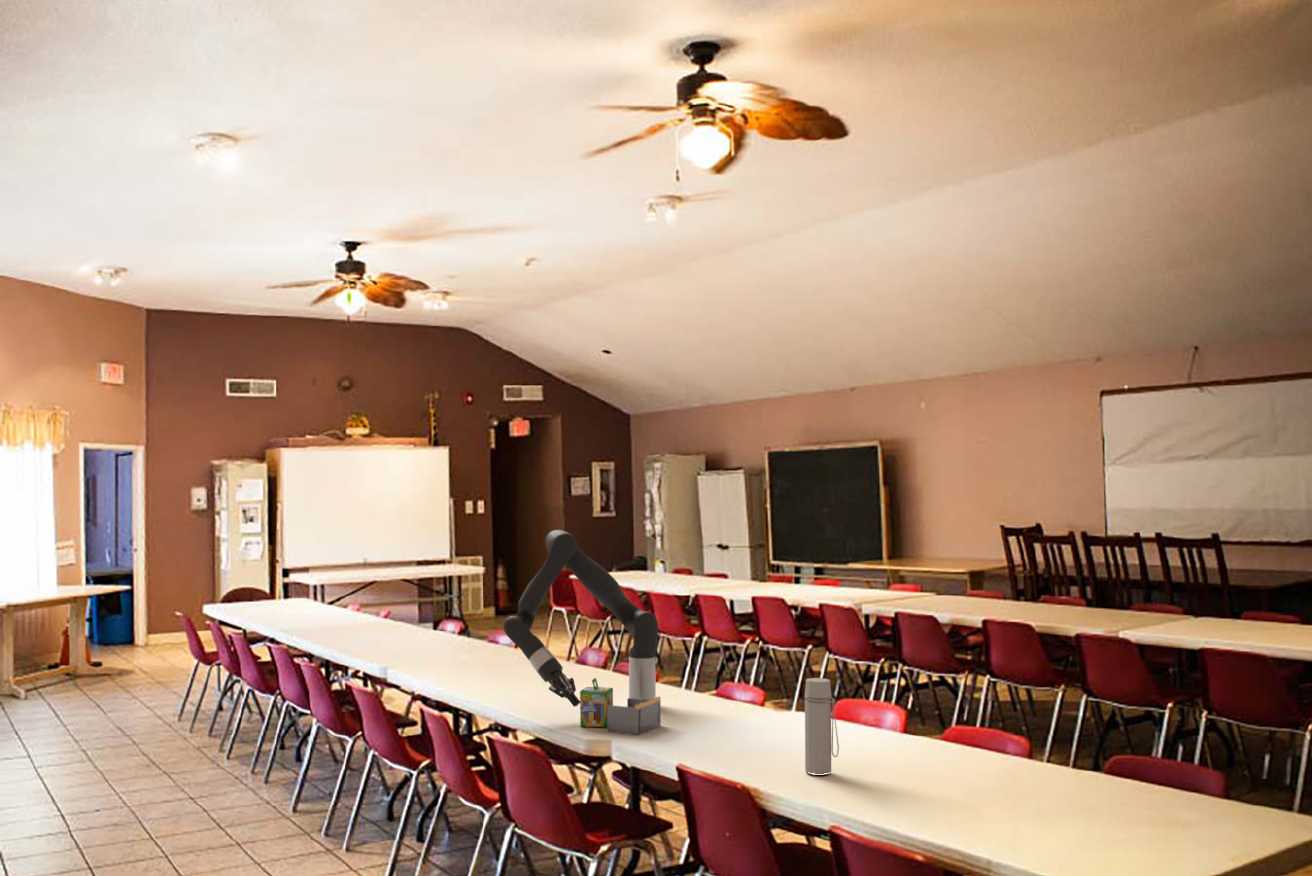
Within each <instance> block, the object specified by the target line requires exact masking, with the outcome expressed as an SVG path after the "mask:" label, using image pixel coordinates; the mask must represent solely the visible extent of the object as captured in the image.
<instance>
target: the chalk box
mask: <svg viewBox="0 0 1312 876" xmlns="http://www.w3.org/2000/svg"><path fill="white" fill-rule="evenodd" d="M591 682H592V683H591V684H592V686H593V687H592V686H586V687H584V688H583V689H581V690H580V691H579V701H580V703H579V704H580V706H579V708H580V711H579V712H580V715H579V716H580V719H579V720H580V723H579V724H580V726H585V727H584V728H606V727H607V706H609V705H613V706H614V688H613V687H602V686H599V684H598V682H597V678H596V677H594V678H593V679H592V680H591Z"/></svg>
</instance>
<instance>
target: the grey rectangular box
mask: <svg viewBox="0 0 1312 876" xmlns="http://www.w3.org/2000/svg"><path fill="white" fill-rule="evenodd" d="M626 700H627V706H621V705H614V704H613V705H609V706H607V728H606V729H607V731H610V733H616V732H620V733H619V734H625V733H629V734H628V735H634V734H636V735H635V736H639V735H638V734H640V735H642V734H644V733H646V731H647V732H649V731H651V730H653V728H654V729H656V728H658V727H660V726H661V705H662V704H661V701H662V700H661V696H656V697H655V698H653V699H650V700H645V699H635V698H629V697H628V698H627V699H626ZM657 726H658V727H657ZM655 727H656V728H655ZM650 729H651V730H650ZM648 730H649V731H648ZM643 732H644V733H643ZM641 733H642V734H641Z"/></svg>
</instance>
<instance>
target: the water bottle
mask: <svg viewBox="0 0 1312 876" xmlns="http://www.w3.org/2000/svg"><path fill="white" fill-rule="evenodd" d="M831 688H832V687H831V680H830V679H828V678H824V677H823V678H822V677H813V678H812V677H811V678H807V679H805V689H804V691H805V692H804V747H805V748H804V754H805V755H804V772H806V771H807V772H810V773H815V774H824V773H829V772H831V773H832V757H834V758H838V756H839V750H840V749H839V748H840V747H839V746H840V744H839V738H838V730H837V728H838V727H837V721H836V712H835V701H836V699H835V698H833V697H832V689H831ZM832 710H833V714H832ZM834 726H835V727H834ZM834 728H835V735H836V744H837V751H836V755H835V754H834Z"/></svg>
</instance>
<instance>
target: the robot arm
mask: <svg viewBox="0 0 1312 876" xmlns="http://www.w3.org/2000/svg"><path fill="white" fill-rule="evenodd" d="M545 548H546V550H547V551H548V556H547V558H546V561H545V562H544V564H543V565H542V567H541V568H540V570H539V571H538V572H537V573H536V574H535V576H534V577H533V578H532V579H531V580H530V582H529V583H528V584H527V586H526V587H525V590H524V592H523V593H522V595H521V597H520V598H519V601H518V604H517V606H518V609H517V613H516V615H511V616H509V617H506V618H505V620H504V622H503V626H502V628H503V631H504V633H505V635H506V636H507V637H508V638H509V639H510V640H511V641H512V643H513V644H514V645H516V646H517V648H519V649H520V650H521V652H522V653H523V655H524V656H525V657H526V659H527V660H528V661H529V663H530V664H531V666H532V668H533V669H535V671H536V672H537V674H538V675H539V676H540V677H541V679H542V680H543V681H544V682H545V683H549V684H550V686H549V687H548V690H549V691H551V692H552V693H554V694H555V695H557V696H559V697H560V698H562V699H563V698H564V699H567V700H568V701H569V702H570V703H571V705H572V706H573V707H574V708H575V707H577V706H579V704H580V698H579V697H577V695H576V694H575V693H576V691H577V689H576V684H575V679H574V678H573V677H570V678H568V677H567V675H566V674H564V673H563V666H562V665H561V663H560V662H559V660H558V659H557V658H556V657H555V656H554V655H553V653H552V652H551V651H550V650H549V649H548V648H547V647H546V646H545V644H544V643H543V642H542V641H541V640H540V638H539V637H538V636H536V635H535V634H533V633H532V632H531V629H532V626H533V625H534V621H535V617H536V614H537V612H538V610H539V608H540V607H541V605H542V603H543V601H544V599H545V597H546V595H547V594H548V592H549V591H550V588H551V587H552V585H553V584H554V582H555V580H556V579H557V578H558V576H559V574H560V573H561V572H562V570H563V569H564V567H565V566H566V567H567V568H568V569H569V570H570V571H571V572H572V573H573V575H574V576H575V577H576V578H577V580H578V581H579V582H580V583H581V585H583V586H584V588H586V590H587V591H588V592H589V593H590V594H591V595H592V596H594V598H595V599H597V601H598V602H600V603H601V604H602V605H603V606H604V607H605V608H606V609H608V610H609V611H610V612H611V613H612V614H613V615H614V616H615V617H616V618H617V620H618V621H619V622H620V623H621V625H622V626H623V627H624V628H625V630H626V631H627V632H628V633H629V634H630V635H632V636H633V644H632V647H630V648H629V650H628V698H635V699H645V700H650V699H653V698H655V697H657V695H656V693H657V692H656V689H657V687H656V684H657V683H656V651H657V649H658V641H659V640H658V638H659V622H658V619H657V617H656V615H655V614H654V613H653V612H650V611H646V610H642V609H640V608H638V607H637V606H636V605H634V604H633V603H632V601H630V600H629V599H628V598H627V597H626V595H625V594H624V591H623V590H622V588H621V586H620V584H619V582H618V581H617V580H616V579H615V578H614V577H613V576H612V574H610V573H609V572H608V571H607V570H606V569H605V568H604V567H603V566H601V565H600V564H599V563H597V562H596V561H595V560H593V559H592V558H590V557H589V556H588V555H587V554H586V553H584V552H583V551H582V550H581V549H580V547H579V546H578V542H577V540H576V537H574V536H573V534H571V533H570V532H567V531H565V530H564V529H563V530H562V529H554V530H552V531H549V533H548V534H547V536H546V538H545Z"/></svg>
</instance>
